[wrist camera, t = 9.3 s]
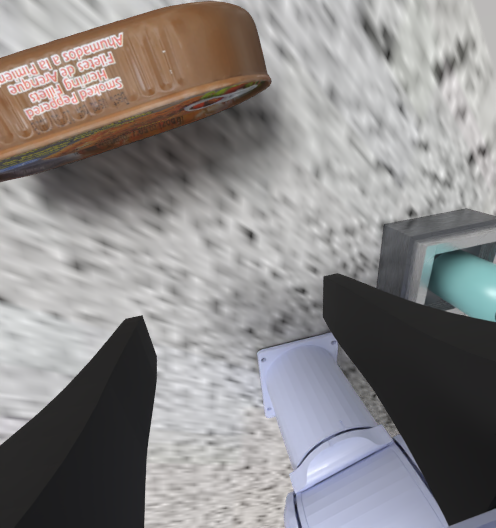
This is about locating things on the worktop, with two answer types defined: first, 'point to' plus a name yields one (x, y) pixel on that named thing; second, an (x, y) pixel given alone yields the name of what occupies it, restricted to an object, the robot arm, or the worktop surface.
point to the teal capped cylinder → (465, 283)
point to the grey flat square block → (431, 251)
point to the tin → (125, 83)
